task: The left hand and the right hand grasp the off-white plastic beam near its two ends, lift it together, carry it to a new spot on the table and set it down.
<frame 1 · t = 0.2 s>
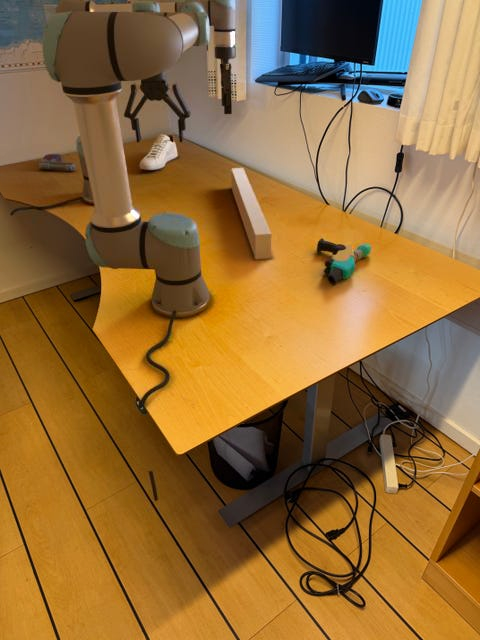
left hand: (226, 109, 180), 29 cm above the table, tool pointing down, fingers open, 13 cm apart
right hand: (160, 141, 150), 28 cm above the table, tool pointing down, fingers open, 13 cm apart
sneaker: (158, 164, 218), on the table
toy gun: (61, 167, 216), on the table
toy gun 2: (334, 266, 140), on the table
beam: (248, 218, 168), on the table
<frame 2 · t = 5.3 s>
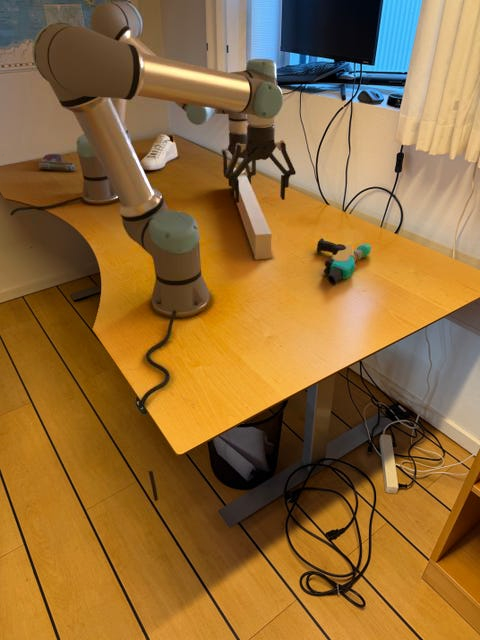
left hand: (239, 193, 186), 1 cm above the table, tool pointing down, fingers closed on beam, 5 cm apart
right hand: (259, 199, 141), 16 cm above the table, tool pointing down, fingers open, 13 cm apart
beam: (248, 218, 168), on the table, touching left hand
everything else where it was.
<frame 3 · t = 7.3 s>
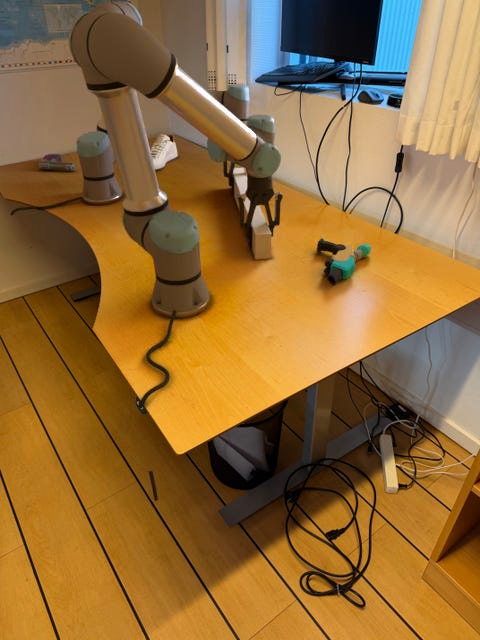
left hand: (239, 193, 186), 1 cm above the table, tool pointing down, fingers closed on beam, 5 cm apart
right hand: (259, 246, 150), 1 cm above the table, tool pointing down, fingers closed on beam, 5 cm apart
beam: (248, 218, 168), on the table, touching right hand, left hand
everything else where it was.
when the left hand's fingers open (2 cm above the table, at t = 20.9 s): beam drops 1 cm, on the table.
when the right hand's fingers open (2 cm above the table, at t = 20.9 s): beam drops 1 cm, on the table.
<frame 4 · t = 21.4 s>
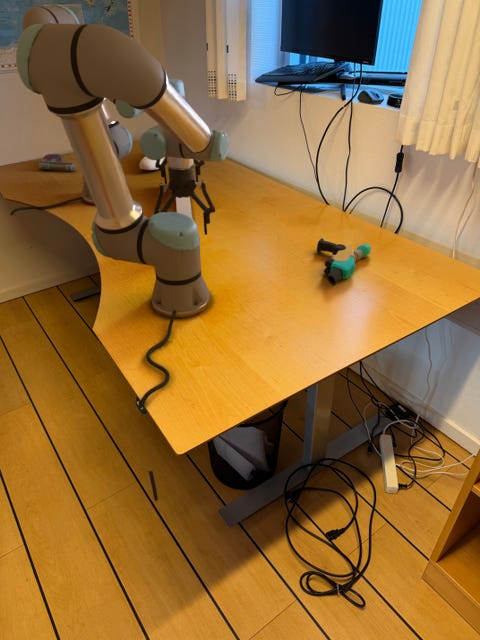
left hand: (181, 184, 188), 3 cm above the table, tool pointing down, fingers open, 11 cm apart
right hand: (186, 234, 151), 3 cm above the table, tool pointing down, fingers open, 11 cm apart
beam: (184, 215, 171), on the table
everything else where it was.
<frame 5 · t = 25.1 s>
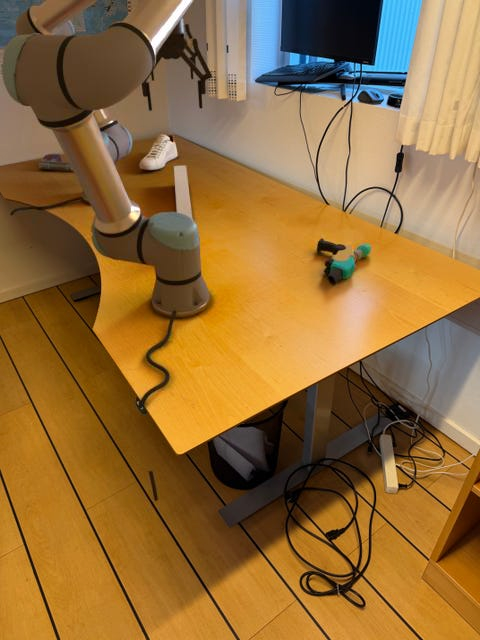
left hand: (172, 79, 166), 41 cm above the table, tool pointing down, fingers open, 13 cm apart
right hand: (175, 108, 129), 41 cm above the table, tool pointing down, fingers open, 13 cm apart
nothing on the table moved.
at the end: beam inside the target area (0.1 cm from its centre), on the table; beam tilted 0°; beam never tilted more than 1° during the clip; both hands held the beam at the same time; the left hand is holding nothing; the right hand is holding nothing; beam at rest at the end (0.0 cm/s) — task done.
